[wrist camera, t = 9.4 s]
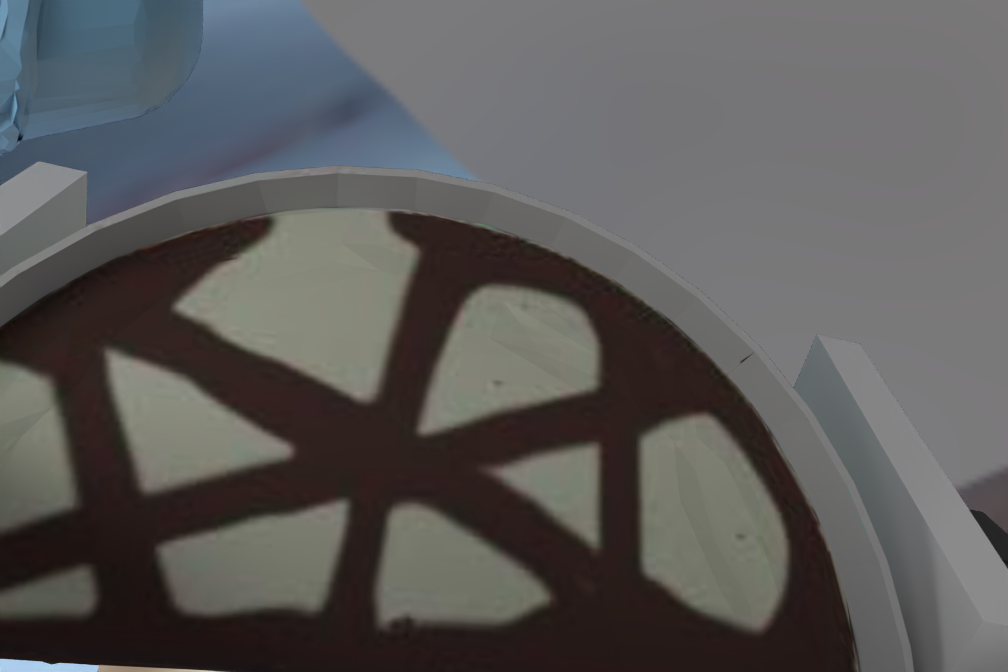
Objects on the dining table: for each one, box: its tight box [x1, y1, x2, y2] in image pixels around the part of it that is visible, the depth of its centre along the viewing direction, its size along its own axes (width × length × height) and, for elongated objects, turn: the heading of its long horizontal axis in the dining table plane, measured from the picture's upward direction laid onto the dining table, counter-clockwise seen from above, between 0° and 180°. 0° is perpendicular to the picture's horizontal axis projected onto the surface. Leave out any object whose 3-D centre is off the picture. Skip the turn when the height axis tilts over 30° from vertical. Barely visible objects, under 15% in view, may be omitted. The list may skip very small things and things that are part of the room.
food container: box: [0, 166, 914, 672], centre depth 15 cm, size 12×6×10 cm, turn 86°
